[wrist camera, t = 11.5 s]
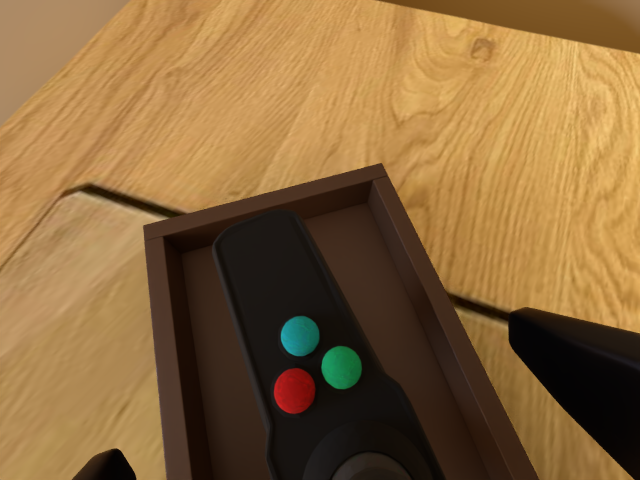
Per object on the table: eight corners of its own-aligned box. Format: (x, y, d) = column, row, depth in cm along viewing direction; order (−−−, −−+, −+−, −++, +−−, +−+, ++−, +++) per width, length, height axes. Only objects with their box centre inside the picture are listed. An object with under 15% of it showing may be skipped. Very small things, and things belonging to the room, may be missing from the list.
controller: (330, 544, 14) (348, 836, 5) (238, 289, 19) (160, 191, 10) (417, 492, 15) (576, 658, 5) (307, 260, 19) (295, 144, 10)
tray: (545, 561, 14) (602, 603, 11) (225, 710, 12) (196, 805, 9) (374, 191, 22) (382, 162, 19) (166, 248, 20) (142, 224, 18)
